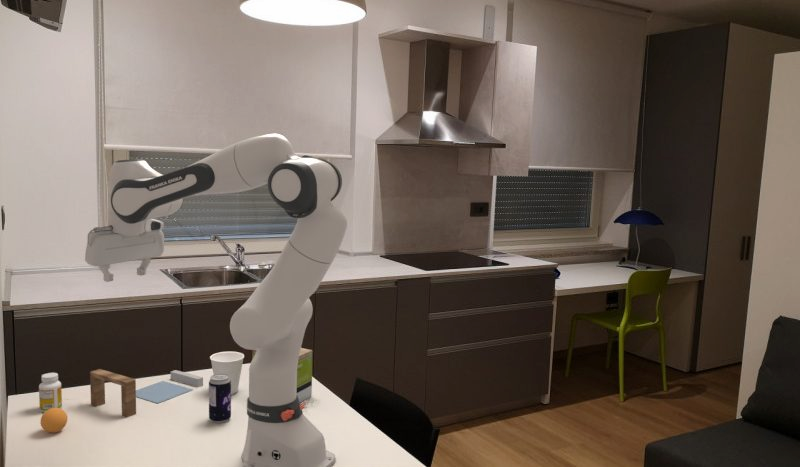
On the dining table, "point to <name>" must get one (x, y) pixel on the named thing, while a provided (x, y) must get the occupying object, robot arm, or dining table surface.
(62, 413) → the ball
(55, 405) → the supplement bottle
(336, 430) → the dining table surface
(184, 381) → the grey rectangular bar
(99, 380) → the bridge
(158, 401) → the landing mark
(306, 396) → the tea box
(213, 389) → the beverage can
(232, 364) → the cup
